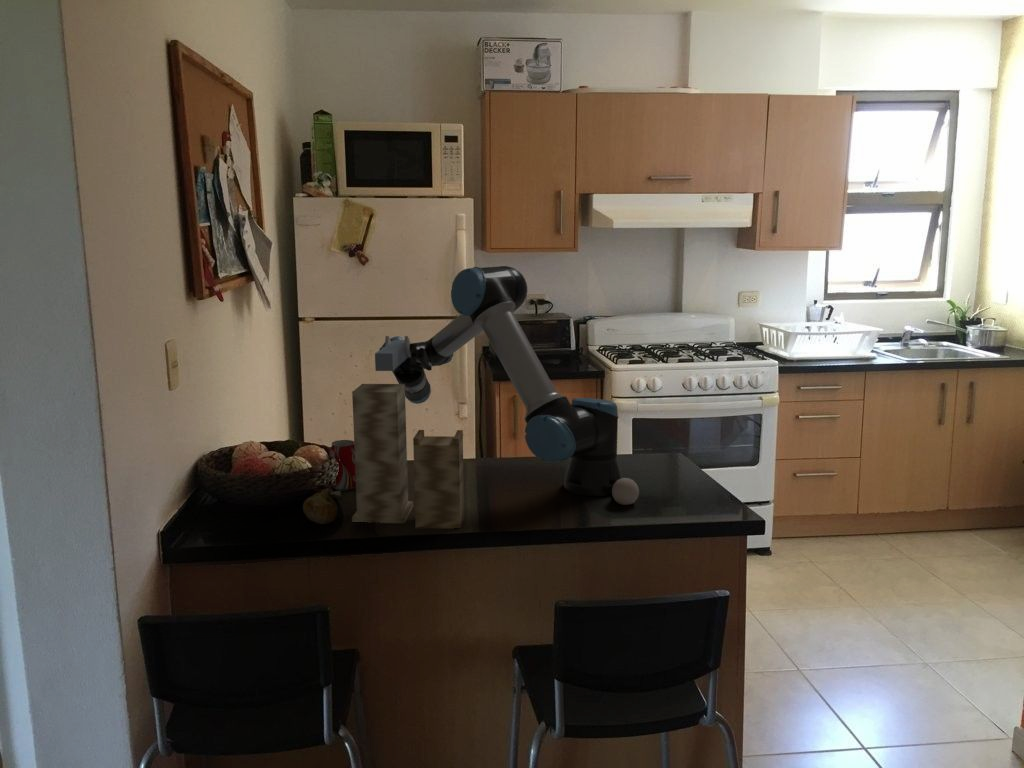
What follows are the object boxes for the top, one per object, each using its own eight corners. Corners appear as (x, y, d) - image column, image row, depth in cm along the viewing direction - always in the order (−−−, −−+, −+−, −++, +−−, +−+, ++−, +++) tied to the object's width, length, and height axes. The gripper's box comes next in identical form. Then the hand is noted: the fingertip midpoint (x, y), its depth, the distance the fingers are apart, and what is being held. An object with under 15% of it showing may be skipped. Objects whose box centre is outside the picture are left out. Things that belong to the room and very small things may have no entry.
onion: (314, 515, 194) (313, 482, 193) (345, 518, 192) (344, 485, 190) (296, 526, 187) (295, 492, 186) (328, 530, 185) (326, 495, 183)
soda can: (352, 492, 211) (350, 446, 209) (326, 491, 212) (324, 445, 210) (362, 484, 218) (361, 439, 216) (337, 483, 219) (335, 438, 217)
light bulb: (607, 475, 209) (617, 475, 198) (632, 479, 209) (644, 480, 198) (603, 501, 208) (613, 503, 197) (629, 505, 208) (640, 508, 197)
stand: (413, 506, 200) (409, 383, 195) (404, 523, 188) (400, 393, 183) (363, 505, 201) (358, 383, 195) (352, 522, 189) (346, 392, 184)
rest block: (464, 516, 193) (462, 430, 189) (460, 528, 185) (458, 438, 181) (421, 515, 193) (418, 429, 190) (415, 528, 185) (413, 438, 182)
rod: (409, 355, 212) (409, 340, 211) (393, 371, 189) (392, 353, 188) (394, 355, 212) (393, 340, 212) (375, 370, 189) (374, 353, 188)
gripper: (441, 387, 224) (430, 355, 202) (378, 387, 225) (360, 355, 203) (442, 361, 227) (431, 327, 205) (380, 361, 227) (362, 327, 205)
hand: (396, 341), depth 204 cm, fingers closed on rod, 4 cm apart
